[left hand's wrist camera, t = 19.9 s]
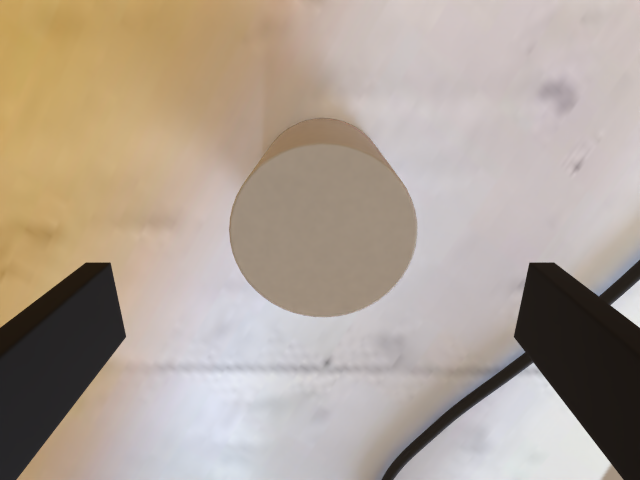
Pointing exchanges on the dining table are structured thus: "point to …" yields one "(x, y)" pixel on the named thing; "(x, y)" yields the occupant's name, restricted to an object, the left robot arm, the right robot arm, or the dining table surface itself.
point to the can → (323, 222)
